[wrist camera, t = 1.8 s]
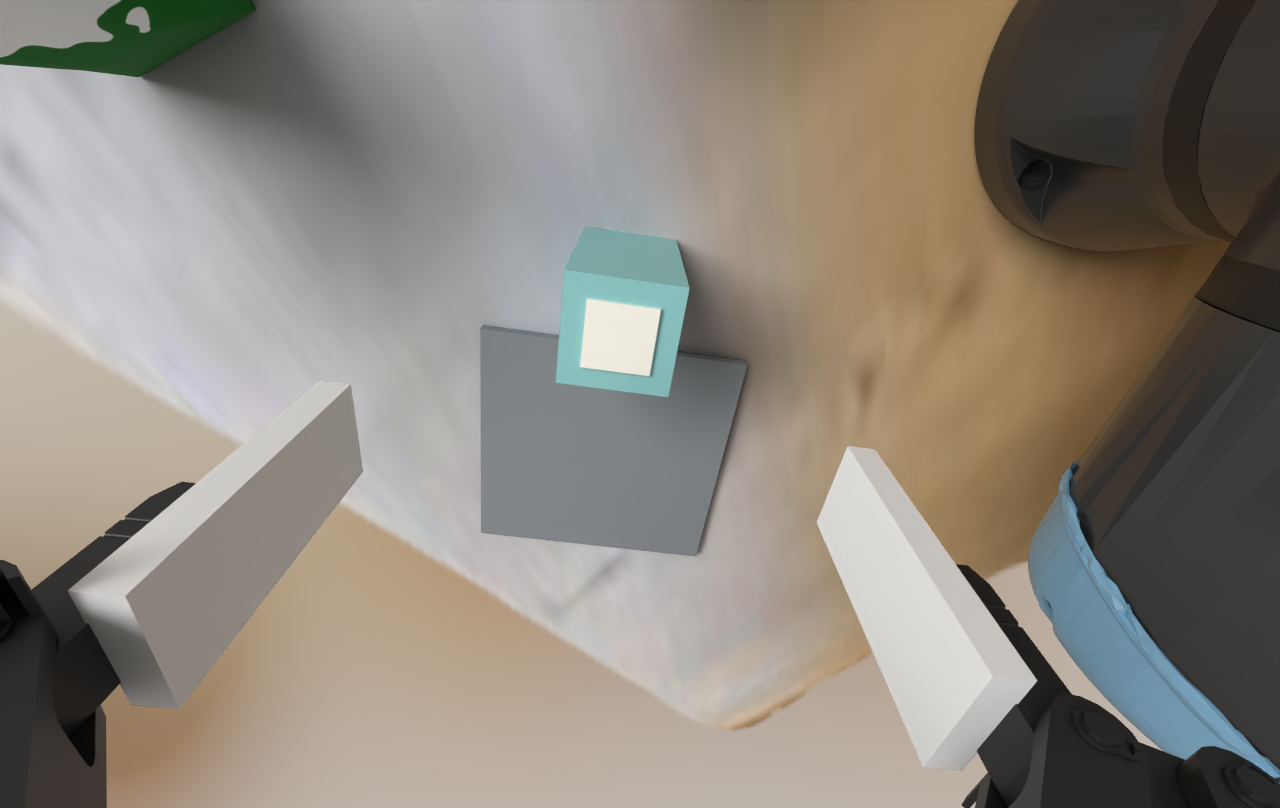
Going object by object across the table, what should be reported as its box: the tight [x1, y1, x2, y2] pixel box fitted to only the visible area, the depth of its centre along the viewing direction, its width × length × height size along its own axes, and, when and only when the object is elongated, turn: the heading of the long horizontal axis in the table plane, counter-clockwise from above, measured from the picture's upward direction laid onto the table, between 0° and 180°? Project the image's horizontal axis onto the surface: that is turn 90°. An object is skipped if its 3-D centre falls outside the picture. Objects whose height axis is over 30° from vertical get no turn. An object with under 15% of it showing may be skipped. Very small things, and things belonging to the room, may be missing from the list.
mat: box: [481, 325, 747, 556], centre depth 35 cm, size 16×16×1 cm
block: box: [556, 227, 690, 397], centre depth 26 cm, size 5×5×9 cm
